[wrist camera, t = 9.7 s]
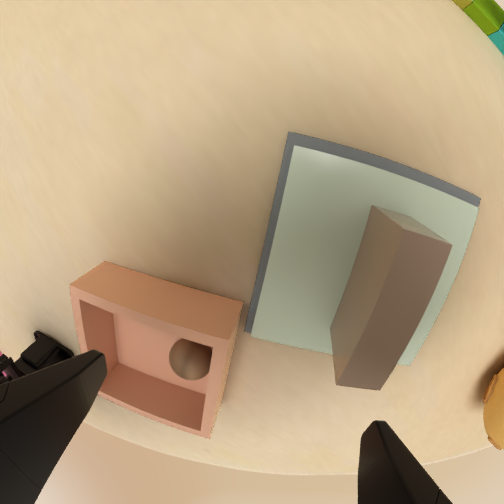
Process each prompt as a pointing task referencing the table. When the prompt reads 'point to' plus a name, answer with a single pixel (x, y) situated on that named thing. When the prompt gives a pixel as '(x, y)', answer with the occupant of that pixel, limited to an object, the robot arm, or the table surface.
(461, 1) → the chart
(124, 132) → the table surface
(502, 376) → the stress ball
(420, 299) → the lid
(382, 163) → the mat
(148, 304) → the dish
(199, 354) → the ball
